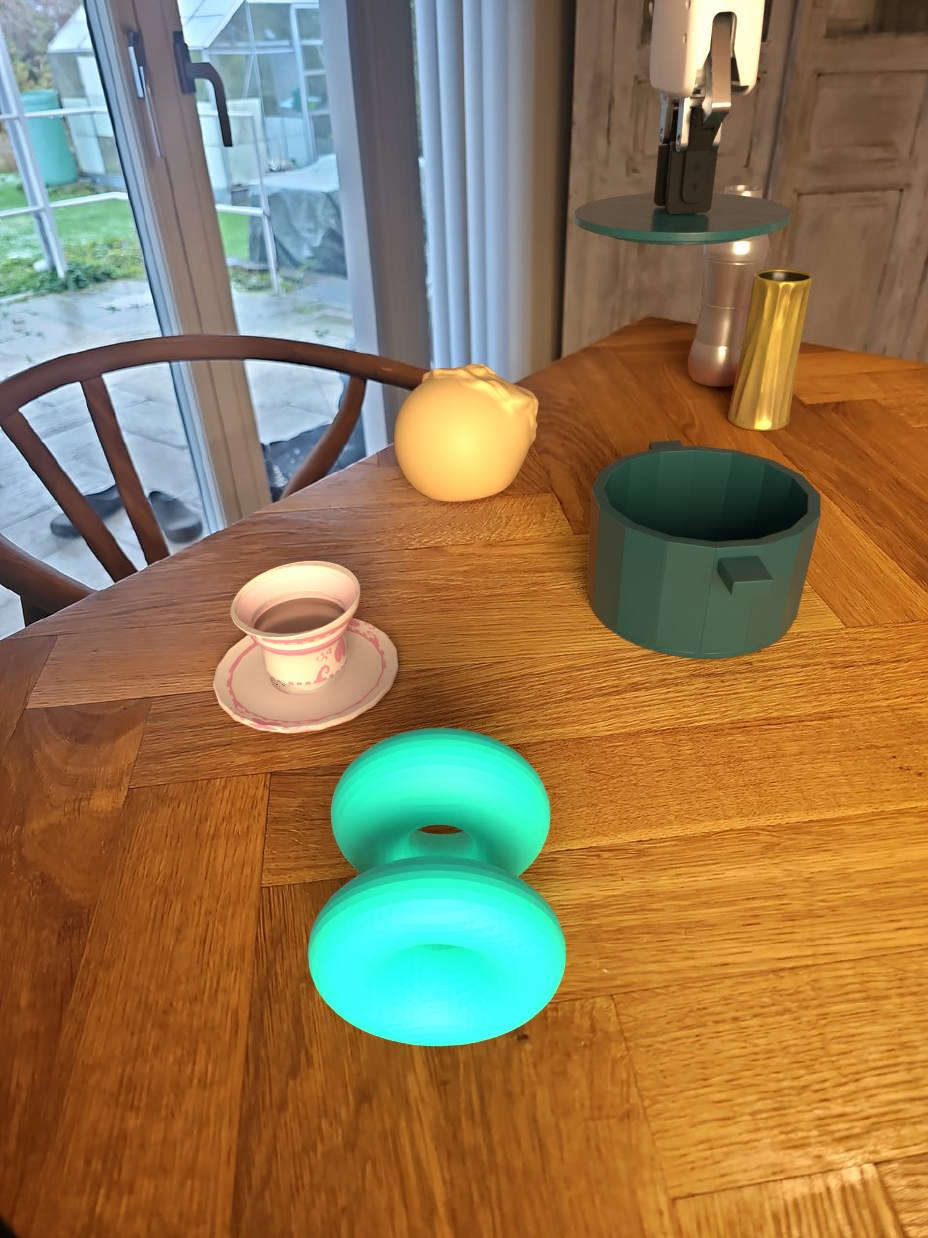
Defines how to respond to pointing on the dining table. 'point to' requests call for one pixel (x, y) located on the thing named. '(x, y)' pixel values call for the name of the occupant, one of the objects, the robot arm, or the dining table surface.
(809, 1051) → the dining table surface
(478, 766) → the turquoise spool
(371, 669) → the teacup
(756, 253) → the plastic bottle
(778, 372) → the vase
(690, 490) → the pot
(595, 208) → the pot lid
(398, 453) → the sculpture
